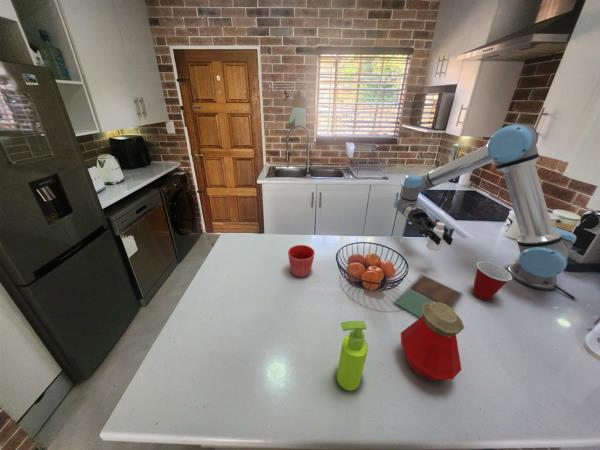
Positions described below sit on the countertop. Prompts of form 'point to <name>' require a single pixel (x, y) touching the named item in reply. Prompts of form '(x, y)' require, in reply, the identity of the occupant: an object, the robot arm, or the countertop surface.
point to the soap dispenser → (352, 355)
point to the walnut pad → (435, 291)
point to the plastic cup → (489, 280)
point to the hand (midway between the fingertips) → (445, 241)
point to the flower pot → (301, 260)
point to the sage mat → (413, 303)
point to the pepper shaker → (440, 233)
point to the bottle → (433, 343)
